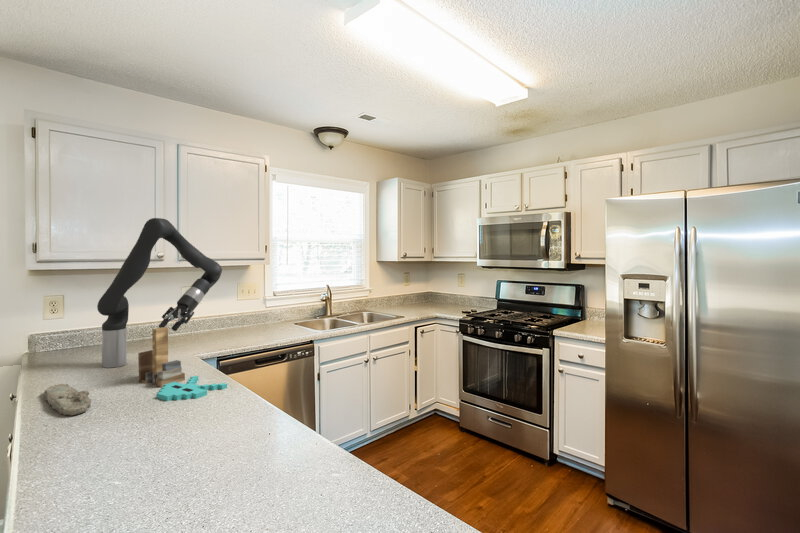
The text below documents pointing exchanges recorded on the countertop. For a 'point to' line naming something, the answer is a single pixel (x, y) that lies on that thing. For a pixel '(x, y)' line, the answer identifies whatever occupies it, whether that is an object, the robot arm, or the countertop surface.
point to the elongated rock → (67, 399)
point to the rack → (146, 367)
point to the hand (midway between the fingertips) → (166, 329)
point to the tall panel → (159, 348)
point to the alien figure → (186, 390)
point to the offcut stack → (170, 373)
